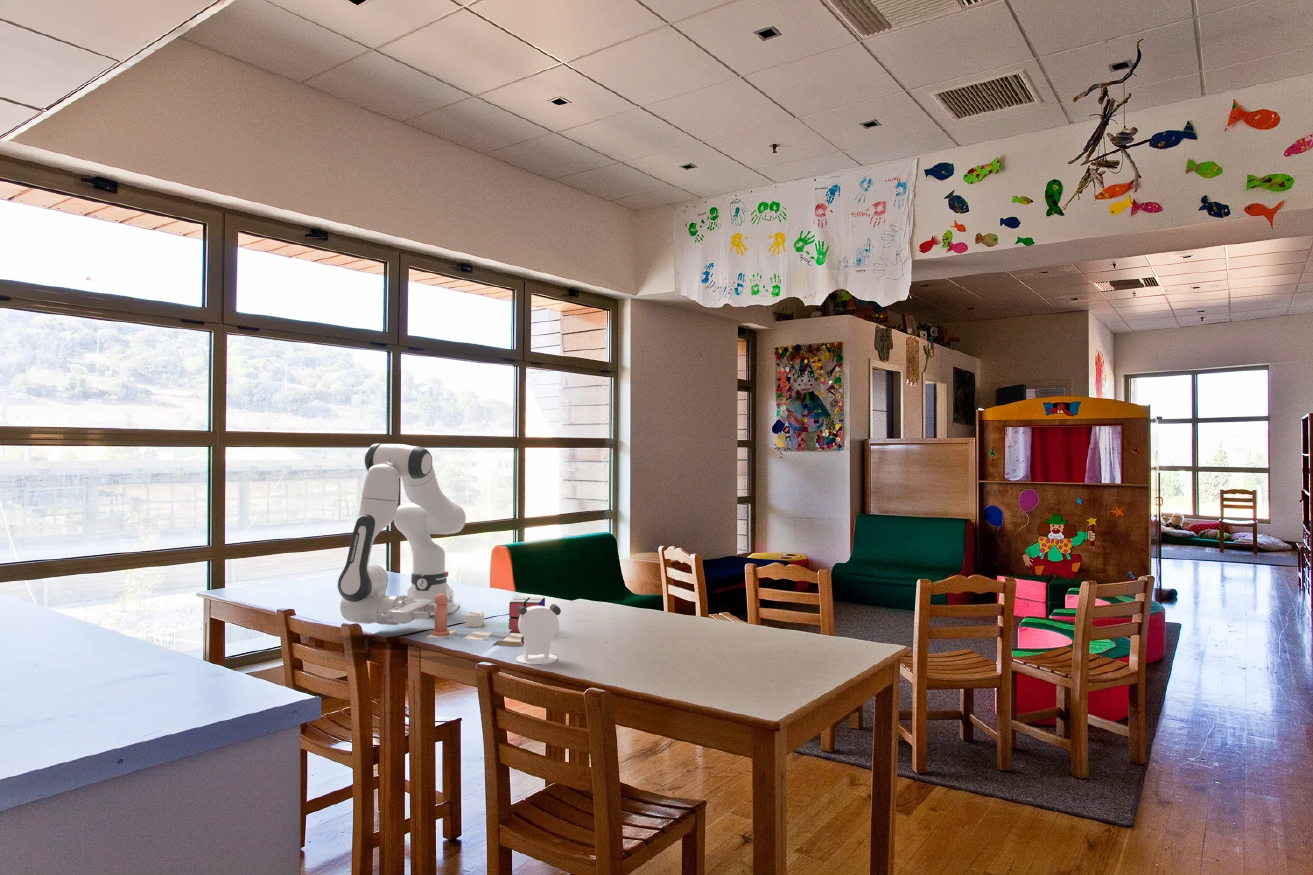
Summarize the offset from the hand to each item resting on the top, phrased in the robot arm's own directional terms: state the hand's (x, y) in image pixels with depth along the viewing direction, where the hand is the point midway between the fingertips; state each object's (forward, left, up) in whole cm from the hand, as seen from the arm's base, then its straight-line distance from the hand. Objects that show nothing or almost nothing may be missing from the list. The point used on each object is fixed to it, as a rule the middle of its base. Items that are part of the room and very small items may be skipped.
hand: (435, 612), depth 250 cm
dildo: (0, +2, -7) cm, 7 cm away
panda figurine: (+19, +38, -8) cm, 43 cm away
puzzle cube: (-16, +25, -8) cm, 31 cm away
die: (-14, +8, -8) cm, 18 cm away
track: (0, +14, -8) cm, 16 cm away
